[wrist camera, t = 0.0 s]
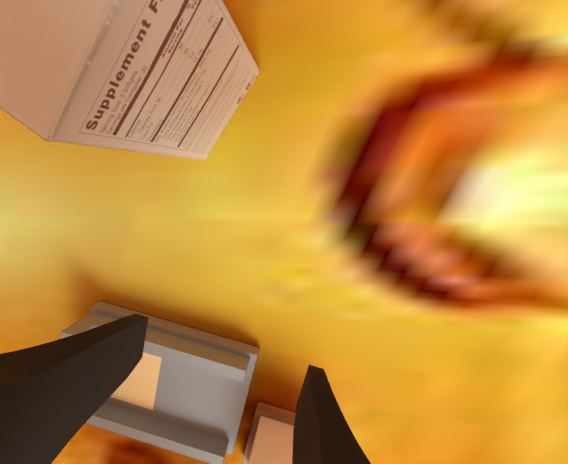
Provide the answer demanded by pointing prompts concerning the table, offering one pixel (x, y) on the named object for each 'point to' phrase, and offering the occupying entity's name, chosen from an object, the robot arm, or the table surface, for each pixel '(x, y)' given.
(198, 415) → the tray
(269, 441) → the block
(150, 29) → the supplement box
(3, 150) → the table surface
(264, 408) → the stand
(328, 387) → the robot arm
